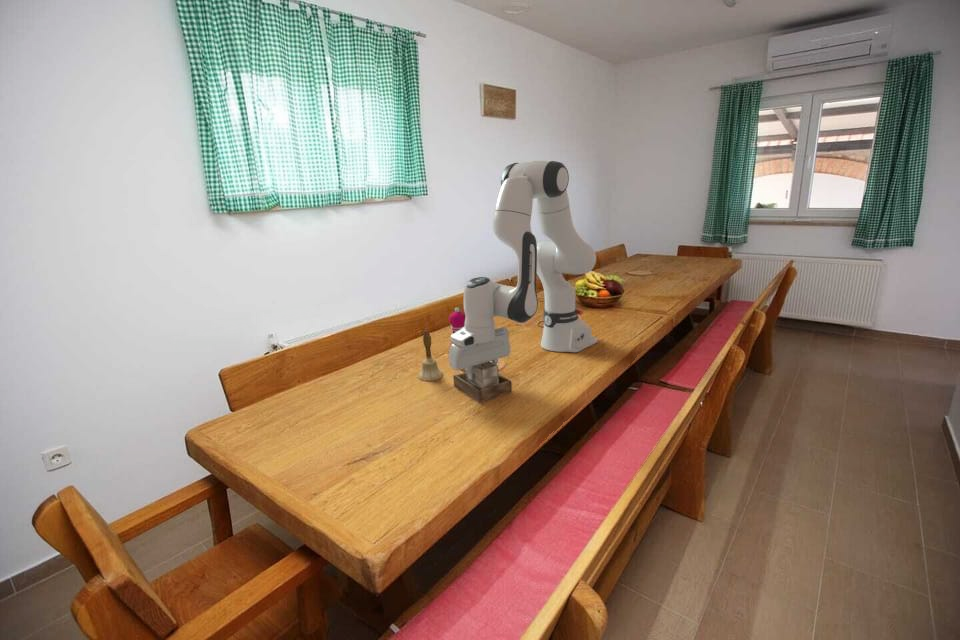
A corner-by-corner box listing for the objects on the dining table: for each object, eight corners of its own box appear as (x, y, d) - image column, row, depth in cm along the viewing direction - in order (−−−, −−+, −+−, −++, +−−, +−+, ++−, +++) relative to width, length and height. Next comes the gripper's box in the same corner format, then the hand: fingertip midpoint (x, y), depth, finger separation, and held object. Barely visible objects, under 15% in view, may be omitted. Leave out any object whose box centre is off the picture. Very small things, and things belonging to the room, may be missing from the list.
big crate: (484, 376, 152) (484, 366, 151) (511, 391, 140) (511, 381, 139) (454, 385, 146) (453, 375, 145) (479, 403, 134) (479, 391, 133)
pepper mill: (467, 366, 161) (465, 310, 155) (447, 365, 162) (444, 310, 156) (472, 358, 167) (469, 305, 161) (452, 357, 169) (449, 304, 163)
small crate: (482, 374, 147) (481, 357, 146) (498, 384, 140) (498, 366, 138) (466, 379, 144) (465, 361, 143) (482, 389, 137) (481, 371, 135)
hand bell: (439, 381, 150) (435, 334, 145) (414, 380, 151) (410, 334, 146) (445, 371, 157) (442, 326, 153) (422, 370, 159) (418, 326, 154)
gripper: (502, 323, 146) (503, 364, 150) (445, 337, 135) (448, 380, 139) (514, 328, 141) (515, 370, 145) (456, 343, 130) (458, 388, 134)
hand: (481, 375), depth 142 cm, fingers closed on small crate, 6 cm apart
